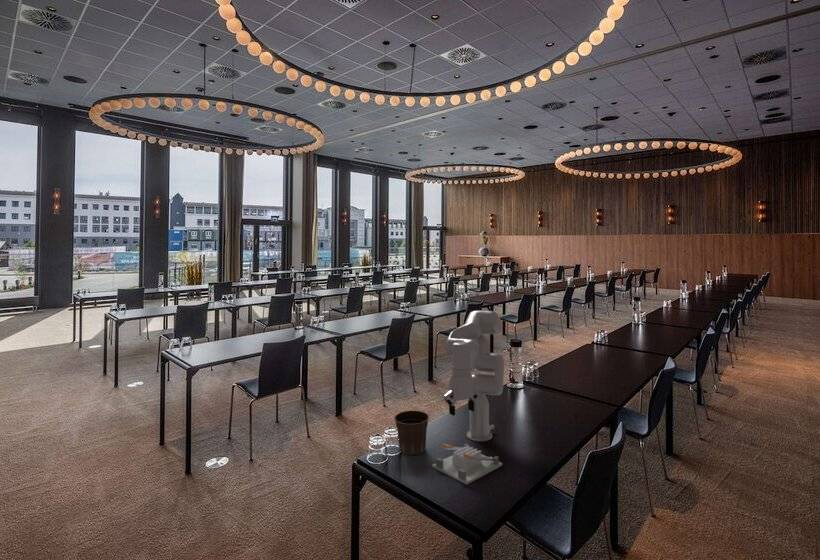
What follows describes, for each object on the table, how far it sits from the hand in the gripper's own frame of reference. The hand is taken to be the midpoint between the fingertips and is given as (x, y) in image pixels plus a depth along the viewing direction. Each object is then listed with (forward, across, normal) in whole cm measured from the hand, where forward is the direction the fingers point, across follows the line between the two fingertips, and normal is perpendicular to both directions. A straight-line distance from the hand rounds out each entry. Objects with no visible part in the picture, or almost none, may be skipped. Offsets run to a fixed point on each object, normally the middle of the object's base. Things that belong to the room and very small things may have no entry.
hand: (461, 412), depth 188 cm
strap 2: (+21, -7, +3) cm, 22 cm away
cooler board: (+26, -5, -4) cm, 27 cm away
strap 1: (+21, -5, -10) cm, 24 cm away
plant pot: (+26, +7, -30) cm, 40 cm away
